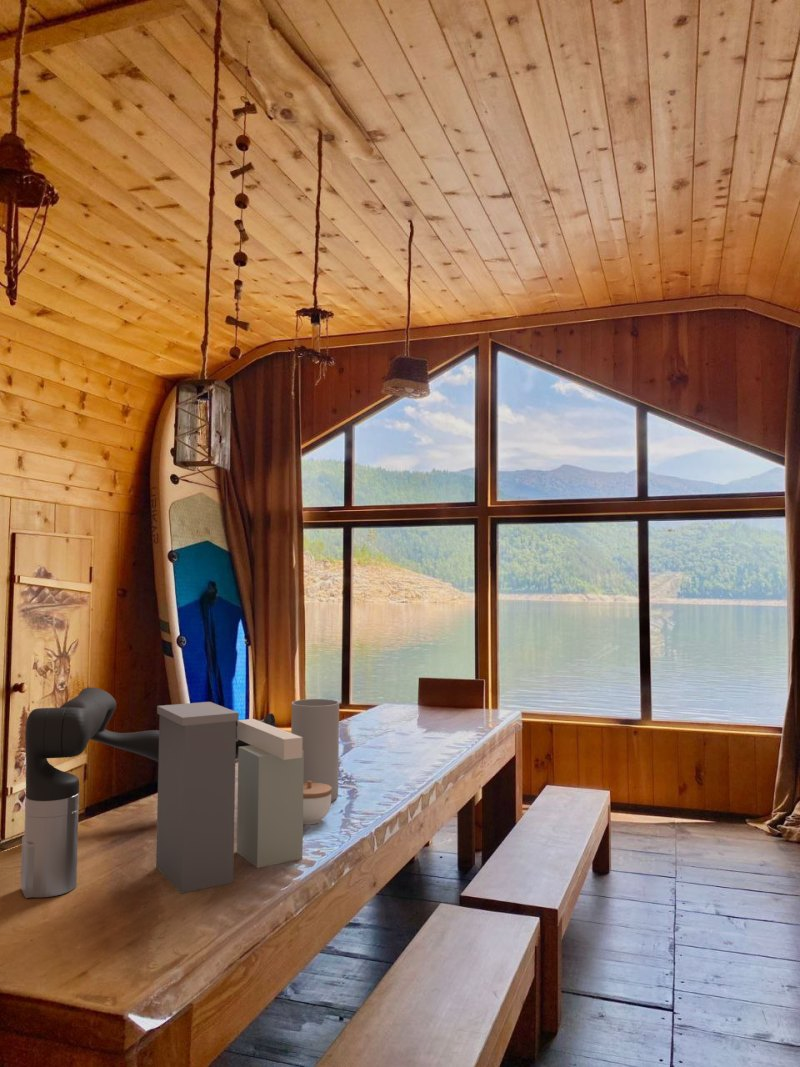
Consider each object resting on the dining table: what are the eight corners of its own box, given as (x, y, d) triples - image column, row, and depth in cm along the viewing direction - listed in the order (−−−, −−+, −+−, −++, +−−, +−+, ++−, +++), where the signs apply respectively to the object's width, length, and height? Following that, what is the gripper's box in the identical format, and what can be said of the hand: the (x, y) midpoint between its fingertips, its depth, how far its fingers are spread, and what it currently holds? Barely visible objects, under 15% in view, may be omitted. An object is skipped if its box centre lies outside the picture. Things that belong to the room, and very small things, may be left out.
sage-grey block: (257, 867, 163) (259, 756, 164) (236, 852, 172) (238, 746, 173) (302, 858, 168) (303, 751, 169) (280, 843, 177) (281, 741, 179)
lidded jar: (337, 816, 198) (338, 777, 199) (321, 829, 188) (322, 788, 188) (297, 812, 201) (297, 774, 202) (279, 825, 191) (279, 784, 191)
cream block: (283, 759, 161) (284, 739, 161) (236, 738, 182) (236, 720, 182) (302, 757, 163) (302, 737, 164) (253, 736, 184) (253, 718, 184)
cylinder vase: (285, 794, 218) (287, 700, 219) (330, 790, 222) (331, 698, 224) (296, 806, 206) (298, 707, 208) (343, 802, 211) (344, 704, 212)
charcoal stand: (178, 893, 149) (182, 717, 151) (153, 867, 163) (157, 705, 164) (235, 882, 155) (238, 712, 157) (206, 857, 168) (209, 701, 170)
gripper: (198, 732, 188) (220, 705, 177) (255, 726, 196) (280, 700, 185) (203, 763, 185) (226, 738, 174) (261, 756, 193) (287, 731, 181)
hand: (254, 718), depth 179 cm, fingers open, 8 cm apart
